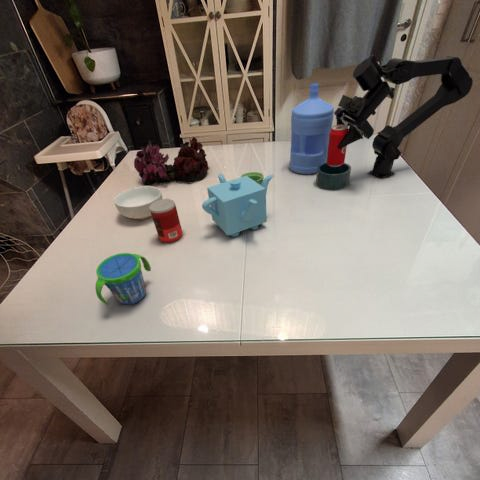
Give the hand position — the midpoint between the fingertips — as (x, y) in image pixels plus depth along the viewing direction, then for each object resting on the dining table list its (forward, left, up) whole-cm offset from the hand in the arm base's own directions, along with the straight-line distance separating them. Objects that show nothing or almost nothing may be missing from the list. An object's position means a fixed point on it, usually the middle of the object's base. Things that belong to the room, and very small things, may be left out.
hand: (333, 145), depth 104 cm
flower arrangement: (+50, -43, -13) cm, 67 cm away
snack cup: (+81, +26, -13) cm, 86 cm away
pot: (-1, 0, -13) cm, 13 cm away
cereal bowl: (+69, -18, -13) cm, 72 cm away
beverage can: (-1, 0, -7) cm, 7 cm away
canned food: (+64, +3, -13) cm, 65 cm away
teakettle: (+41, +9, -13) cm, 44 cm away
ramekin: (+26, -14, -13) cm, 32 cm away
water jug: (-2, -18, -13) cm, 22 cm away
